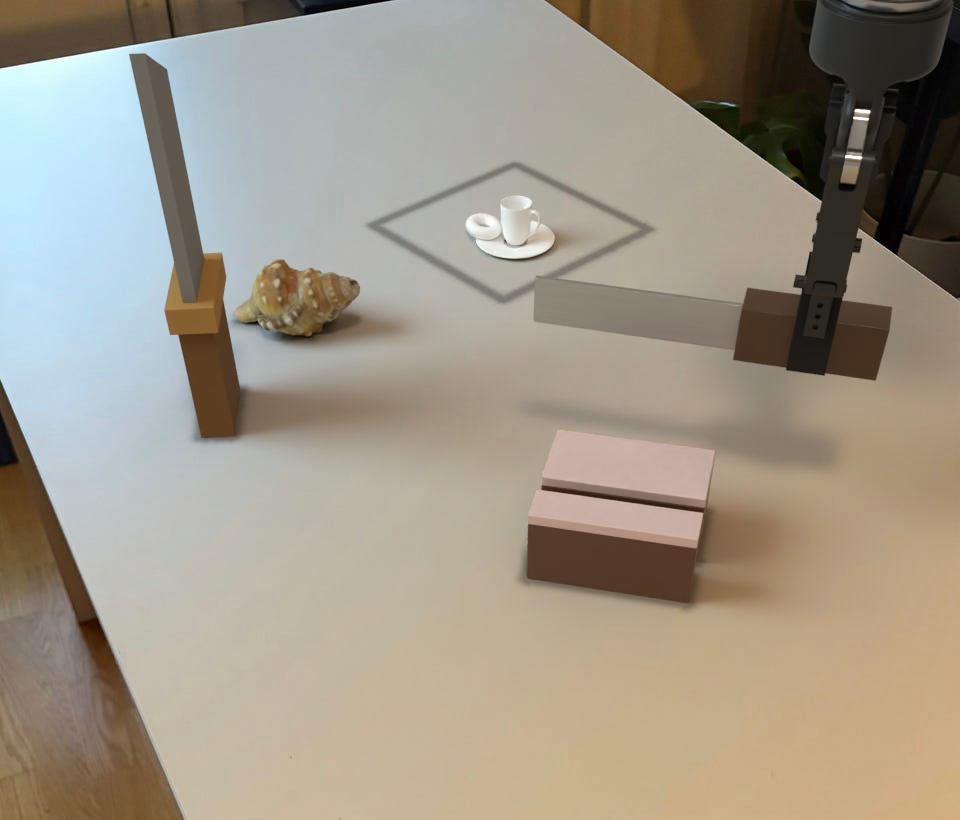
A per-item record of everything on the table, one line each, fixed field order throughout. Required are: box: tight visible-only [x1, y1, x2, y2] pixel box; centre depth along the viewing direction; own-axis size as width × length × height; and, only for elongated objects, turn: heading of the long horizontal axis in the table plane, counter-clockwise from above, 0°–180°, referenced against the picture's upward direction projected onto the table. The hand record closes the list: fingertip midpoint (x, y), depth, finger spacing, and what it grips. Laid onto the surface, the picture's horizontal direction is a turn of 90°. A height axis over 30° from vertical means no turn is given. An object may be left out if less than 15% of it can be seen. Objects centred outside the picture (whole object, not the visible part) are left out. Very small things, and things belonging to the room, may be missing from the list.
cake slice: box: [526, 489, 703, 604], centre depth 88 cm, size 12×3×6 cm, turn 76°
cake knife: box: [533, 275, 893, 381], centre depth 87 cm, size 25×3×4 cm, turn 74°
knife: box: [128, 52, 241, 439], centre depth 93 cm, size 8×4×30 cm, turn 3°
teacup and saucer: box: [465, 195, 556, 260], centre depth 121 cm, size 9×8×4 cm
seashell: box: [234, 258, 361, 337], centre depth 111 cm, size 9×8×10 cm
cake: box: [540, 429, 717, 562], centre depth 92 cm, size 12×6×6 cm, turn 76°
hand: (808, 355), depth 87 cm, fingers closed on cake knife, 3 cm apart
